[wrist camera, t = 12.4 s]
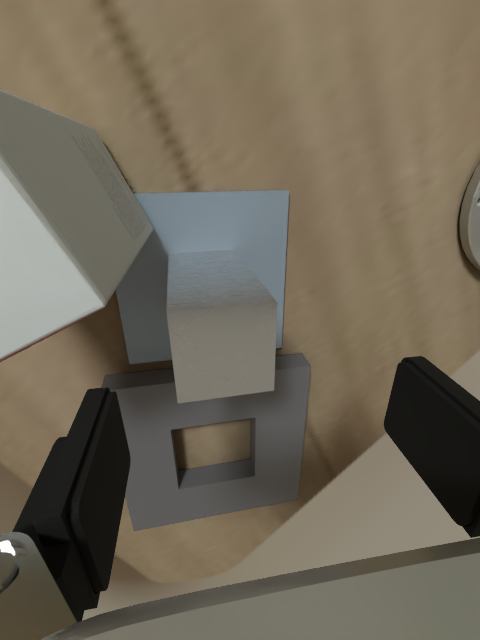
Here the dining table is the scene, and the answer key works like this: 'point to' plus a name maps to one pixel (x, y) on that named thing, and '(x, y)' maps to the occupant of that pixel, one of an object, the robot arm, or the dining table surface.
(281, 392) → the socket block
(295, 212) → the dining table surface
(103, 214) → the small box
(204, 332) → the steel plug
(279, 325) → the blue pad
